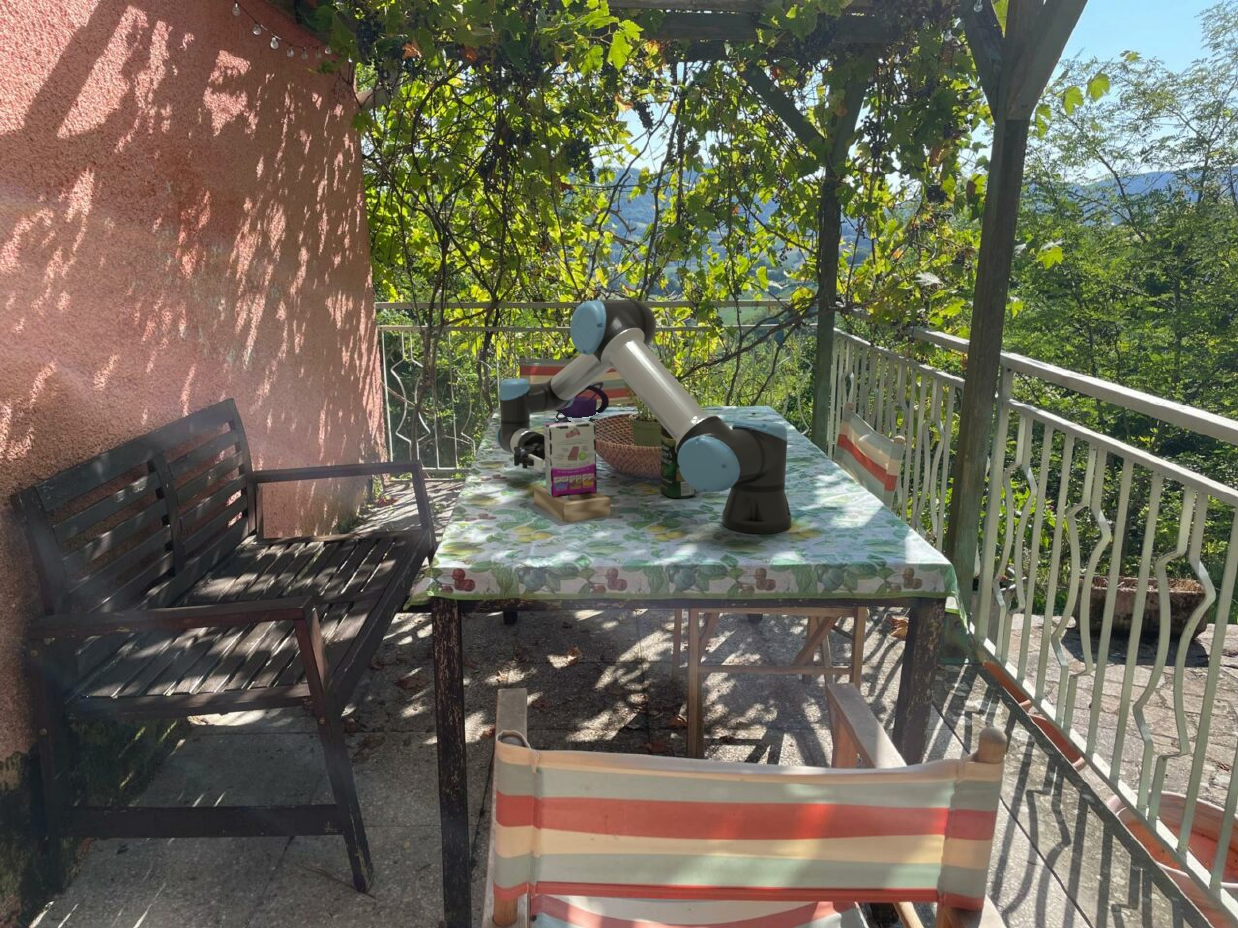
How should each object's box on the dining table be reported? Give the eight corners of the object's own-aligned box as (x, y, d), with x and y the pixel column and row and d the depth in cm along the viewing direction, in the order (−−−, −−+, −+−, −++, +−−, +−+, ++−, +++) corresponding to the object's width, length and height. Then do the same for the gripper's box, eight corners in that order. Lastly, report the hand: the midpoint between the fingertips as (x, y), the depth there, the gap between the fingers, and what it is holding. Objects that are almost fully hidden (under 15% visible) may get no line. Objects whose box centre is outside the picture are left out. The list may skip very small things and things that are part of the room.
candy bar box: (589, 488, 200) (589, 419, 196) (597, 493, 195) (597, 423, 192) (544, 492, 196) (543, 422, 192) (551, 498, 191) (549, 426, 187)
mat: (582, 497, 209) (582, 495, 208) (623, 517, 192) (623, 515, 192) (522, 505, 201) (522, 504, 201) (559, 527, 184) (559, 525, 184)
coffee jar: (655, 490, 215) (656, 418, 211) (684, 488, 217) (685, 417, 213) (670, 500, 206) (671, 425, 202) (699, 497, 208) (701, 423, 204)
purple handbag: (612, 417, 322) (612, 352, 316) (606, 427, 301) (606, 357, 296) (554, 416, 324) (553, 351, 318) (544, 426, 303) (542, 356, 298)
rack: (575, 497, 206) (575, 482, 206) (610, 515, 192) (610, 498, 191) (534, 503, 201) (533, 487, 200) (566, 522, 186) (566, 505, 185)
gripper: (575, 455, 219) (615, 471, 201) (484, 465, 207) (518, 484, 189) (574, 426, 217) (615, 441, 199) (483, 435, 205) (517, 451, 187)
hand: (568, 462), depth 194 cm, fingers open, 13 cm apart
